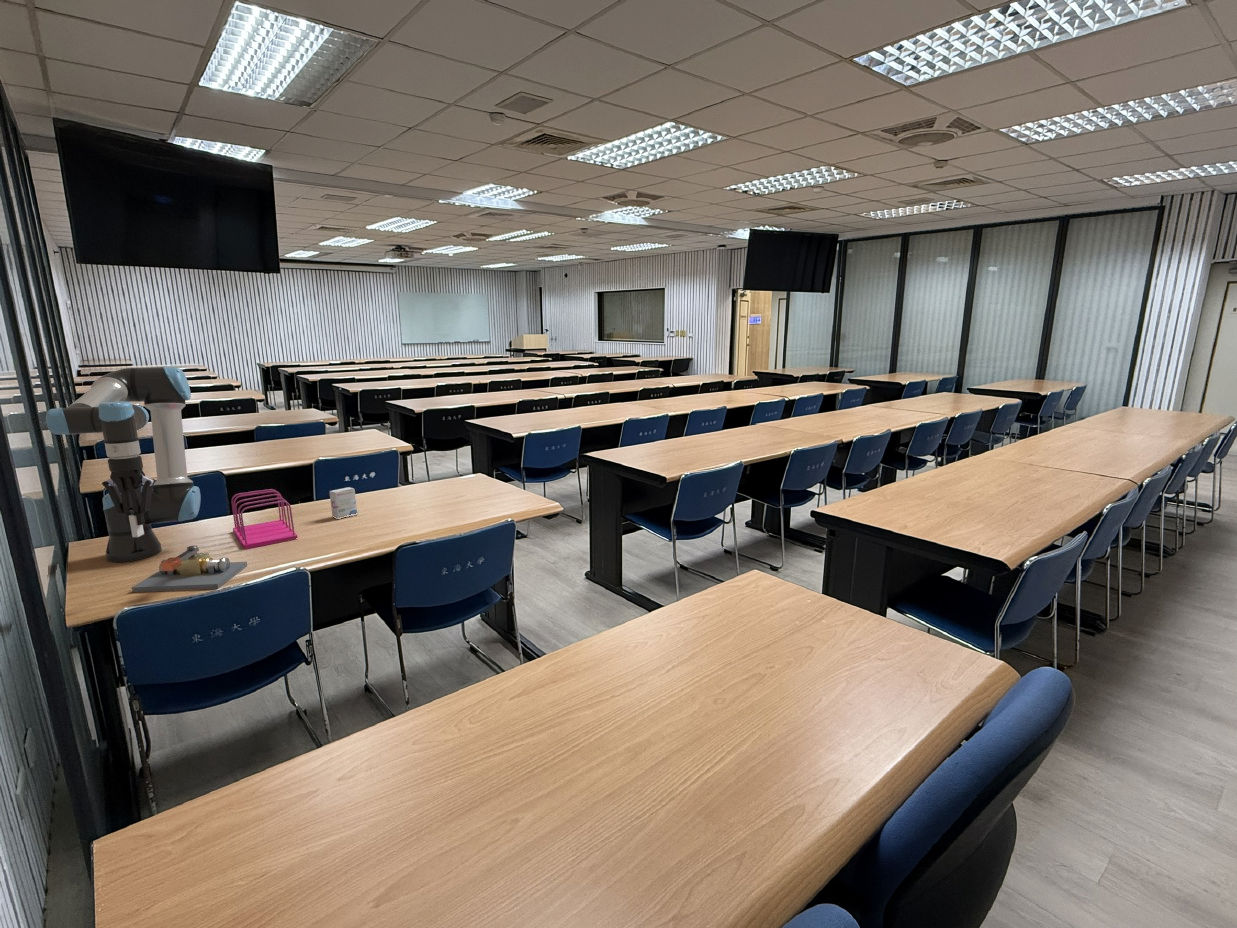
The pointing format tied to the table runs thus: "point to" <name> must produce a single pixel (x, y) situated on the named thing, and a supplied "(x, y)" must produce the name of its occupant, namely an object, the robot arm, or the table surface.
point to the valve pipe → (199, 565)
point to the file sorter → (262, 531)
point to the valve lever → (179, 559)
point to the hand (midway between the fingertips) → (138, 535)
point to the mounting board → (188, 580)
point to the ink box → (343, 502)
